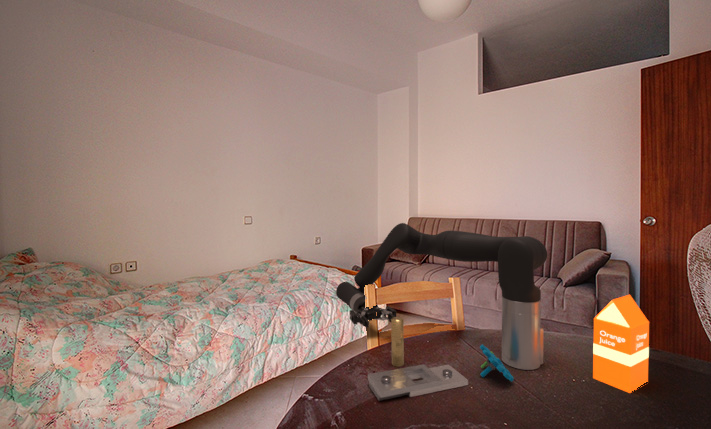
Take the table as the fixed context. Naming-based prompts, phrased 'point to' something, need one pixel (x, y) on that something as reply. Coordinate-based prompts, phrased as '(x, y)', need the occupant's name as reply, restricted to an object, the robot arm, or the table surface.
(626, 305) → the orange juice
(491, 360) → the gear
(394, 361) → the brass pin
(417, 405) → the table surface
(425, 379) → the bolted metal plate
